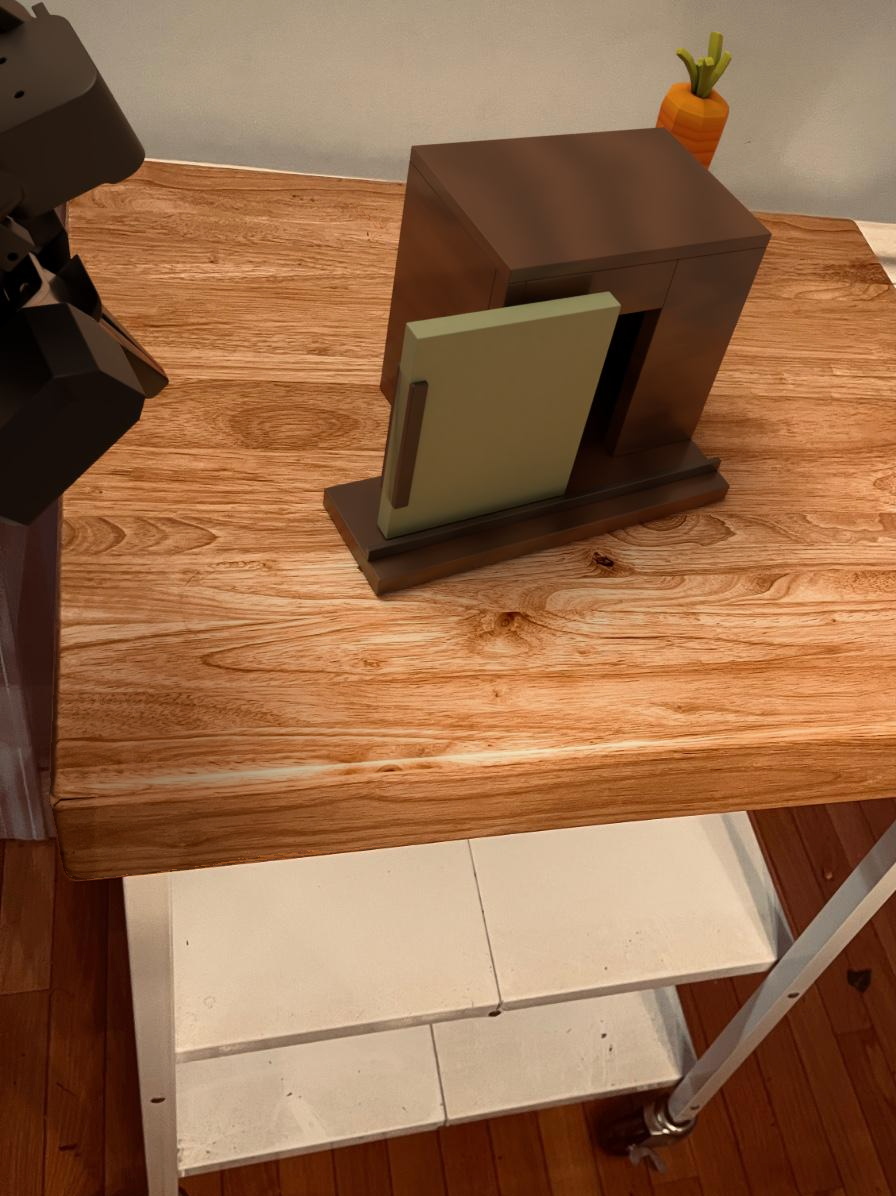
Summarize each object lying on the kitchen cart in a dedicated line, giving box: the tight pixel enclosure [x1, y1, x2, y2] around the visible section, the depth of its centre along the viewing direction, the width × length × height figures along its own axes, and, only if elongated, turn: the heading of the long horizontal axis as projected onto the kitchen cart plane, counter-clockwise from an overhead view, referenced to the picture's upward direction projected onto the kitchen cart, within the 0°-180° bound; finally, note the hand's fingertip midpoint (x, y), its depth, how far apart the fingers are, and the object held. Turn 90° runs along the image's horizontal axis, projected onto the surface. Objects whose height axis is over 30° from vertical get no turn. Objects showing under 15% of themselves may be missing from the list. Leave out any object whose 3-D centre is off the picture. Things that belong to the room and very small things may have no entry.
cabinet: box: [322, 127, 773, 597], centre depth 64 cm, size 23×15×16 cm, turn 123°
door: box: [377, 292, 621, 539], centre depth 60 cm, size 11×2×13 cm, turn 123°
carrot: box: [654, 30, 733, 171], centre depth 85 cm, size 5×5×15 cm
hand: (159, 385), depth 48 cm, fingers closed
